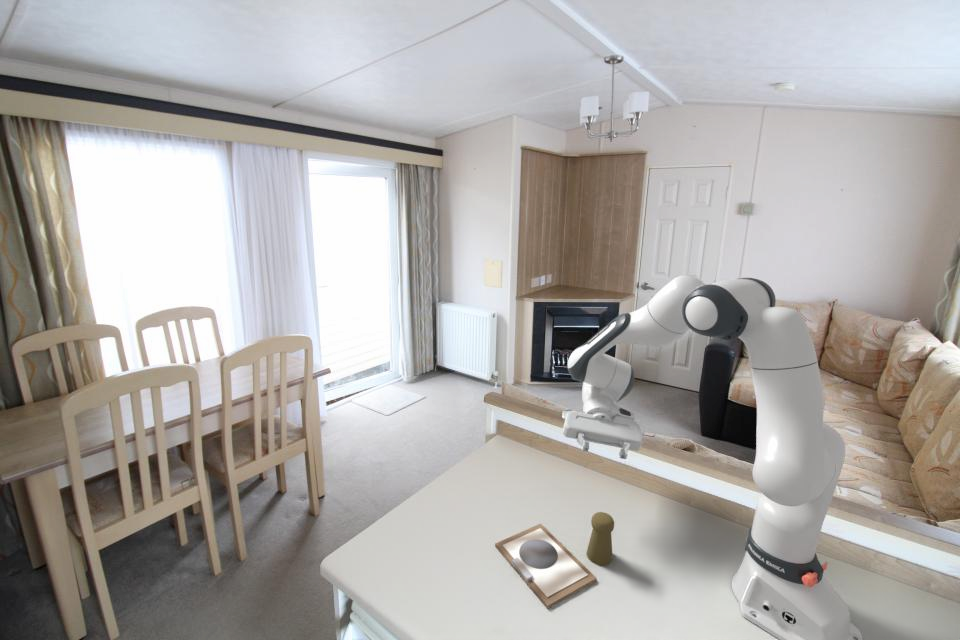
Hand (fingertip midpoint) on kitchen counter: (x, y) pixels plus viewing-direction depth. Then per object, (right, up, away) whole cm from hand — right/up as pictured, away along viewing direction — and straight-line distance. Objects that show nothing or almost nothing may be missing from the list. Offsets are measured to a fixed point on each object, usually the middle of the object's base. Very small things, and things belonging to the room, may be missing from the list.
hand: (604, 453), depth 111 cm
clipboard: (-16, -24, -6) cm, 29 cm away
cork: (-2, -24, -4) cm, 24 cm away
